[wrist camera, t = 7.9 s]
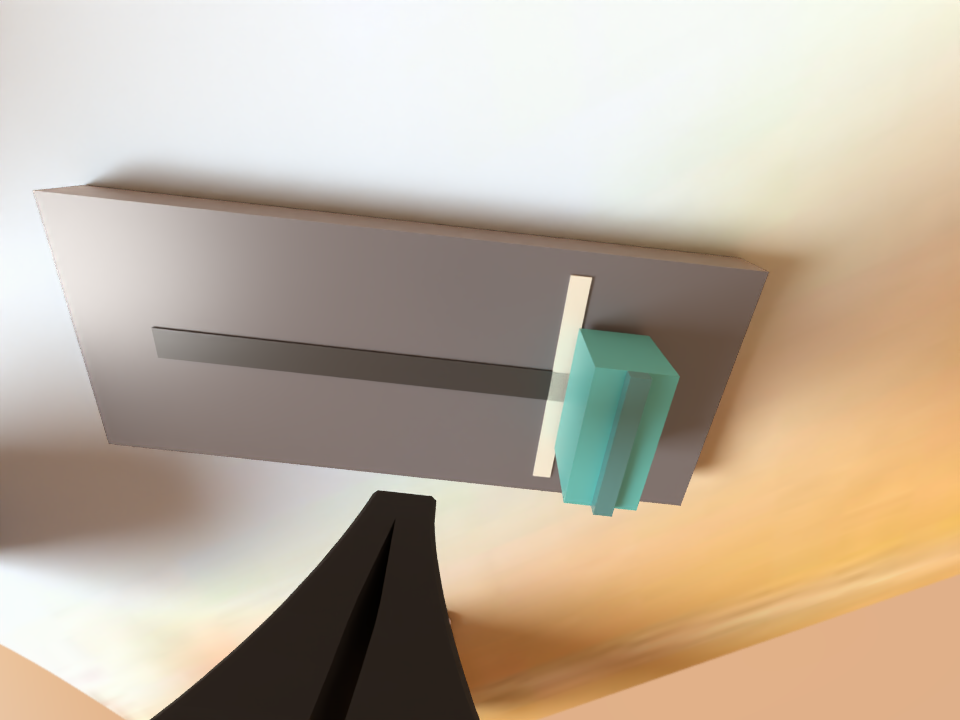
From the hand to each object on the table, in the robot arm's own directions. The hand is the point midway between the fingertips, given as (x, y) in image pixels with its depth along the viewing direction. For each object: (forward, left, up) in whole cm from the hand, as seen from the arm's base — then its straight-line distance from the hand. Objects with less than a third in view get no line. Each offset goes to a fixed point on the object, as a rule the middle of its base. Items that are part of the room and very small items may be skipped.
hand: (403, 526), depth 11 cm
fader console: (0, +2, -9) cm, 10 cm away
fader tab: (0, -6, -7) cm, 9 cm away
